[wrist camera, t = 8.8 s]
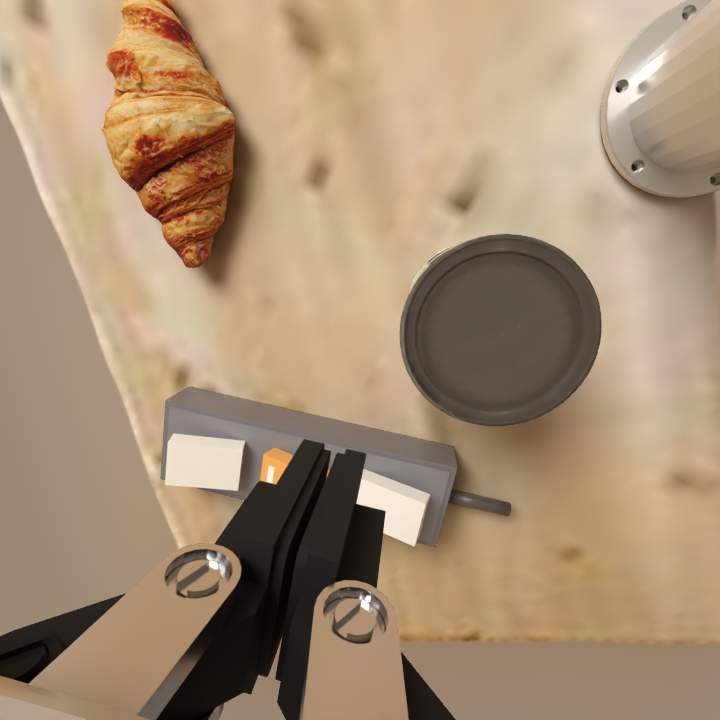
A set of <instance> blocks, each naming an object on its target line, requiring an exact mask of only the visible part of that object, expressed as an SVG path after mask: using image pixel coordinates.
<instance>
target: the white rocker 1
mask: <svg viewBox="0 0 720 720" xmlns="http://www.w3.org/2000/svg"><path fill="white" fill-rule="evenodd" d="M244 448H245V441H242V440H232V439H223V438H213V437H203V436H194V435H184V434H174V433H173V435H172V437H171V438H170V440H169V441H168V446H167V461H166V476H165V485H174V486H186V487H198V488H210V489H222V490H234V491H238V488H239V484H240V481H241V472H242V464H243V456H244Z"/></svg>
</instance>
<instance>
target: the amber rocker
mask: <svg viewBox="0 0 720 720" xmlns="http://www.w3.org/2000/svg"><path fill="white" fill-rule="evenodd" d="M293 456H294V455H292V454H290V453H287V452H285V451H283V450H280V449H278V448H273V449H271V450H269V451H268V452H266V453H265V454H263V462H262V469H261V477H260V481H264V482H268V483H273V484H277V482H278V480H279V479H280V477H281V475H282V474H283V472H284V470H285V469H286V467H287V466H288V464H289V462H290V461H291V459H292V457H293ZM329 471H330V470H328V473H327V476H328V474H329ZM326 479H327V478H326Z"/></svg>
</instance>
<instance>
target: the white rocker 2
mask: <svg viewBox="0 0 720 720" xmlns="http://www.w3.org/2000/svg"><path fill="white" fill-rule="evenodd" d="M429 498H430V494H428V493H426V492H423V491H420V490H418V489H415V488H413V487H410V486H407V485H405V484H402V483H400V482H397V481H394V480H392V479H389V478H387V477H384V476H381V475H379V474H376V473H373V472H371V471H368V470H366V469H363V474H362V479H361V484H360V488H359V493H358V498H357V503H356V504H359V505H363V506H368V507H372V508H376V509H380V510H384V511H385V512H386V513H385V522H384V530H383V533H384V534H386V535H389V536H391V537H393V538H396V539H398V540H400V541H403V542H405V543H407V544H410V545H412V546H414V547H415V545H416V542H417V540H418V538H419V536H420V532H421V528H422V524H423V521H424V517H425V513H426V509H427V505H428V502H429Z"/></svg>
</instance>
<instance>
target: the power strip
mask: <svg viewBox="0 0 720 720" xmlns="http://www.w3.org/2000/svg"><path fill="white" fill-rule="evenodd" d="M173 433H174V434H184V435H194V436H203V437H213V438H223V439H232V440H242V441H245V448H244V456H243V464H242V472H241V481H240V484H239V488H238V491H234V490H222V489H210V488H199V489H203V490H207V491H211V492H215V493H219V494H223V495H227V496H231V497H235V498H239V499H243V500H245V499H246V498H247V497H248V495H249V494H250V492H251V491H252V489H253V488H254V487H255V485H256V484H257V483H258V482H259V481H260V477H261V469H262V462H263V454H265V453H266V452H268V451H269V450H271V449H273V448H278V449H280V450H283V451H285V452H287V453H290V454H292V455H294V454H295V452H296V451H297V449H298V447H299V446H300V444H301V443H302V441H303V440H304V439H307V440H311V441H315V442H320V443H324V444H325V447H324V449H325V450H330V451H331V456H330V462H329V467H328V470H330V469H331V466H332V464H333V461H334V459H335V456H336V454H337V452H338V453H342V454H345V451H346V449H350V450H354V451H358V452H363V453H367V454H366V460H365V464H364V469H366V470H368V471H371V472H373V473H376V474H379V475H381V476H384V477H387V478H389V479H392V480H394V481H397V482H400V483H402V484H405V485H407V486H410V487H413V488H415V489H418V490H420V491H423V492H426V493H428V494H430V498H429V502H428V505H427V509H426V513H425V517H424V521H423V524H422V528H421V532H420V536H419V538H418V540H417V543H421V544H425V545H429V546H433V547H436V544H437V540H438V537H439V533H440V529H441V526H442V522H443V519H444V515H445V511H446V508H447V504H448V502H449V503H453V504H457V505H462V506H466V507H470V508H474V509H479V510H483V511H487V512H491V513H495V514H500V515H504V516H509V515H510V511H511V504H510V503H509V502H504V501H500V500H496V499H492V498H487V497H483V496H479V495H475V494H470V493H466V492H462V491H458V490H453V489H452V486H453V483H454V479H455V475H456V472H457V468H458V467H457V462H456V457H455V451H454V446H449V445H445V444H440V443H436V442H432V441H427V440H423V439H418V438H414V437H410V436H405V435H401V434H396V433H392V432H388V431H383V430H379V429H374V428H370V427H365V426H361V425H357V424H352V423H348V422H343V421H339V420H335V419H330V418H326V417H321V416H317V415H313V414H308V413H304V412H299V411H295V410H291V409H286V408H282V407H277V406H273V405H269V404H264V403H260V402H255V401H251V400H246V399H242V398H238V397H233V396H229V395H224V394H220V393H216V392H211V391H207V390H202V389H198V388H194V387H187V388H186V389H184V390H182V391H181V392H179V393H177V394H175V395H174V396H172V397H170V398H169V399H167V400H166V401H165V417H164V433H163V449H162V465H161V479H162V480H165V476H166V461H167V446H168V441H169V440H170V438H171V437H172V435H173ZM194 488H198V487H194ZM383 534H384V533H383ZM385 535H386V534H385Z"/></svg>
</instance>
